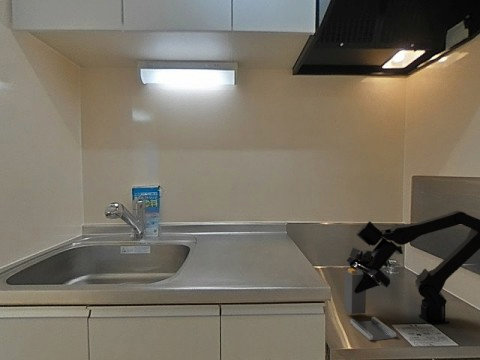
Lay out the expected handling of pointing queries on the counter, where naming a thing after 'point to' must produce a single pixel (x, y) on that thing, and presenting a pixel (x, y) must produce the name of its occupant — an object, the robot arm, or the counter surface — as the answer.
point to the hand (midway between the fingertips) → (351, 289)
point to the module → (351, 299)
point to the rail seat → (373, 329)
